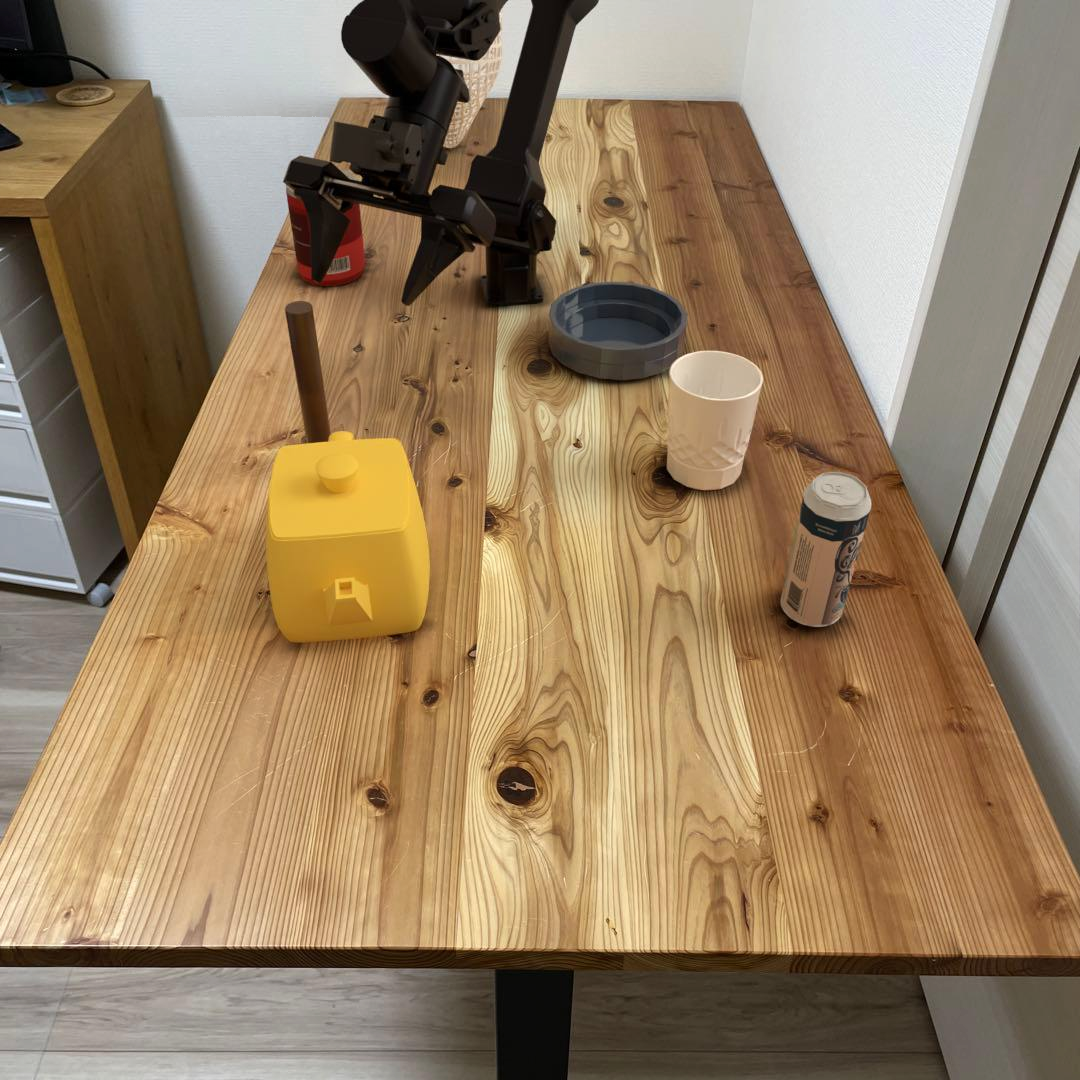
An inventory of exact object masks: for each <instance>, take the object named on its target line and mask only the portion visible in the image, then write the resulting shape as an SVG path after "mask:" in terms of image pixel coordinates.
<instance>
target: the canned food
mask: <svg viewBox="0 0 1080 1080" xmlns="http://www.w3.org/2000/svg"><path fill="white" fill-rule="evenodd" d="M339 169H340V170H341V171H342V172H343V173H344V174H345V175H346V176H347V177H348V178H349V179H352V180H357V177H356V174H354V173H353V172H352V171H349V170H347V169H342V168H339ZM285 192H286V193H285V194H286V201H287V207H288V214H289V220H290V227H291V233H292V234H291V235H292V240H293V245H294V246H293V247H294V253H295V260H296V265H297V270H298V273H299V275H300V277H301V279H303V281H305V282H306V283H308V284H310V285H313V286H318V287H337V286H343V285H345V284H346V285H347V284H349V283H352V282H354V281H356V280H357V279H358V278H360V277H361V276H362V275H363V274H364V271H365V268H366V256H365V246H364V245H365V244H364V235H363V225H362V216H361V204H357V203H354V205H353V208H351V209H350V210H348V211H347V212H345V213H344V215H345V216H347V217H348V218H349V219H350V223H349V225H348V228H347V230H346V232H345V234H344V237H343V239H342V241H341V243H340V245H339V248H338V250H337V252H336V254H335V257H334V259H333V261H332V264H331V266H330V268H329V270H328V272H327V274H326V275H325V277H324V279H323V280H322V282H321V283H316V282H315V281H313V280H312V278H311V241H310V226H309V219H308V214H307V211H306V208H305V206H304V203H303V202H301V201H300V200H299V199H298V198H296V197H295V196H294V190H292V189H291V188H290V187H289V186H287V185H286V184H285Z"/></svg>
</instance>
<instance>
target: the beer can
mask: <svg viewBox="0 0 1080 1080" xmlns="http://www.w3.org/2000/svg"><path fill="white" fill-rule="evenodd" d="M871 510H872V499H871V496H870V493H869V491H868V486H867V485H866V484H865V483H864V482H862V481H861V480H860V479H859V478H858V477H857V476H855V475H851V474H848V473H845V472H843V471H842V472H841V471H832V472H821V474H819V475H818V476H817V477H815V478H813V479H812V481H811V482H810V483H809V484H808V485H806V487H805V489H803V495H802V500H801V505H800V510H799V514H798V518H797V523H796V529H795V531H794V537H793V542H792V547H791V551H790V556H789V561H788V565H787V570H786V574H785V579H784V584H783V587H782V593H781V597H780V606H781V609H782V611H783V612H784V613H785V614H786V615H787V617H788V618H790V619H791V620H792V621H794V622H796V623H799V624H801V625H803V626H808V627H810V628H822V627H829V626H831V625H833V624H835V623H837V621H839V620H840V619H841V618H842V616H843V612H844V609H845V605H846V602H847V597H848V594H849V590H850V586H851V583H852V579H853V575H854V571H855V567H856V564H857V560H858V557H859V554H860V549H861V546H862V542H863V539H864V535H865V531H866V527H867V523H868V520H869V516H870V514H871Z"/></svg>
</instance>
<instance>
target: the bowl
mask: <svg viewBox="0 0 1080 1080" xmlns="http://www.w3.org/2000/svg"><path fill="white" fill-rule="evenodd" d="M685 309H686V308H685V307H684V306H683V304H682V303H681V302H680V301H679V300H677V299H676V298H674V296H673V295H671V294H670V293H667V292H664V291H662V290H660V289H658V288H657V287H653V286H649V285H645V284H640V283H635V282H626V281H625V282H624V281H603V282H592V283H588V284H584V285H583V284H582V285H578V286H576V287H573V288H571V289H569V290H567V291H565V292H563V293H561V294H560V295H558V297H557V298H555V300H554V301H553V302H552V303H551V305H550V308H549V311H548V334H547V338H548V340H547V341H548V342H547V345H548V346H549V349H550V352H551V354H552V356H553V357H554V358H555V359H556V360H557V361H558V362H559V363H560V364H561V365H562V366H564V367H567V368H568V369H570V370H573V371H574V372H576V373H577V374H582V375H585V376H589V377H593V378H597V379H602V380H603V379H604V380H615V381H629V380H640V379H645V378H648V377H652V376H656V375H659V374H662V373H664V372H666V371H667V370H670V367H671V365H672V364H673V363H674V361H676V360H677V359H678V358H680V357H682V356H684V354H685V353H684V351H685V343H686V334H687V326H688V313H687V311H686V310H685Z"/></svg>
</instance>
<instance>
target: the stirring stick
mask: <svg viewBox="0 0 1080 1080" xmlns="http://www.w3.org/2000/svg"><path fill="white" fill-rule="evenodd" d="M284 313H285V319H286V324H287V331H288V336H289V343H290V350H291V355H292V361H293V362H292V363H293V368H294V374H295V379H296V386H297V392H298V398H299V405H300V411H301V416H302V424H303V429H304V436H305V441H306V444H308V443H318V442H328V439H329V436H330V435H331V434H332V433H331V425H330V419H329V412H328V405H327V399H326V392H325V391H326V390H325V385H324V378H323V371H322V364H321V356H320V350H319V349H320V348H319V342H318V335H317V328H316V321H315V315H314V307H313V305H312V303H310V302H309V301H306V300H296V301H292V302H290V303H287V304H286V305H285V307H284Z"/></svg>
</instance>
